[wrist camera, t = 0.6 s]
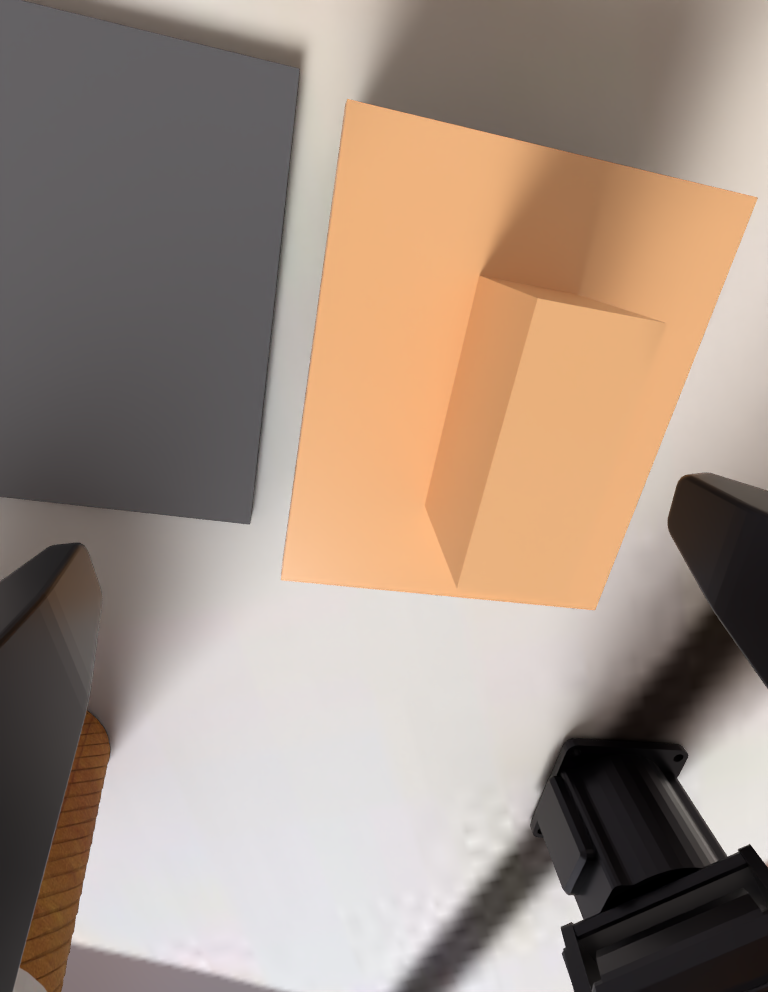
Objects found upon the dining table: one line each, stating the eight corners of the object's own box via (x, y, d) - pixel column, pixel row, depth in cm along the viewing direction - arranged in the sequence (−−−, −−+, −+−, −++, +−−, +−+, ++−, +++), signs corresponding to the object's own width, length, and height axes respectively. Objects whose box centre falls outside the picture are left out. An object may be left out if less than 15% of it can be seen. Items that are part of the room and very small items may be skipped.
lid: (716, 198, 15) (912, 194, 10) (574, 581, 20) (663, 706, 15) (343, 110, 14) (363, 53, 9) (283, 551, 18) (273, 679, 13)
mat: (299, 72, 17) (299, 68, 16) (251, 518, 22) (249, 524, 22) (-150, -38, 15) (-165, -46, 14) (-80, 480, 20) (-89, 486, 20)
